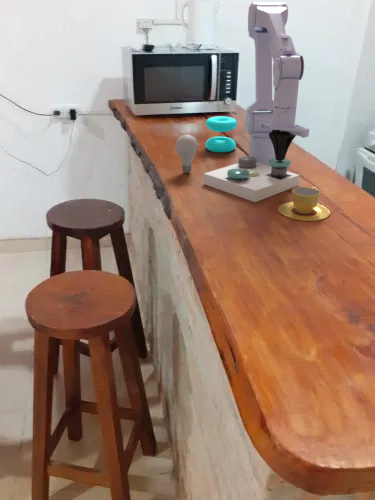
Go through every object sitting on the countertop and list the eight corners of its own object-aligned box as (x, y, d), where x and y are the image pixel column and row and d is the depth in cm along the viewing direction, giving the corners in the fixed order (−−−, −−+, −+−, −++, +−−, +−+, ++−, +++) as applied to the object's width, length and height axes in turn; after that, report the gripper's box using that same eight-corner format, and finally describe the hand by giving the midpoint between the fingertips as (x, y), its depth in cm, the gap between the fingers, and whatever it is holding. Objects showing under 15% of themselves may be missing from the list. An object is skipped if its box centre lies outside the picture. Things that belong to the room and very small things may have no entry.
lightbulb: (195, 177, 143) (195, 138, 138) (173, 175, 144) (173, 137, 139) (199, 170, 148) (199, 132, 143) (178, 169, 149) (178, 131, 144)
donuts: (202, 116, 167) (231, 114, 169) (201, 146, 172) (230, 144, 174) (211, 123, 158) (241, 121, 161) (210, 154, 163) (239, 152, 165)
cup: (325, 225, 114) (329, 203, 112) (273, 217, 118) (275, 195, 115) (333, 207, 124) (336, 186, 121) (284, 200, 128) (286, 179, 125)
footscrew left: (276, 173, 139) (278, 156, 137) (293, 178, 135) (295, 160, 133) (263, 178, 136) (264, 160, 133) (280, 183, 132) (281, 165, 130)
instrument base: (247, 170, 149) (248, 153, 146) (298, 185, 137) (300, 167, 135) (203, 184, 138) (204, 166, 135) (254, 202, 126) (256, 182, 124)
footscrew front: (236, 184, 137) (237, 167, 135) (252, 189, 134) (253, 172, 132) (222, 189, 134) (222, 171, 132) (238, 194, 130) (239, 176, 128)
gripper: (252, 104, 129) (248, 156, 135) (299, 113, 120) (293, 169, 126) (269, 100, 134) (265, 151, 140) (316, 109, 124) (310, 163, 130)
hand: (280, 159), depth 133 cm, fingers closed
